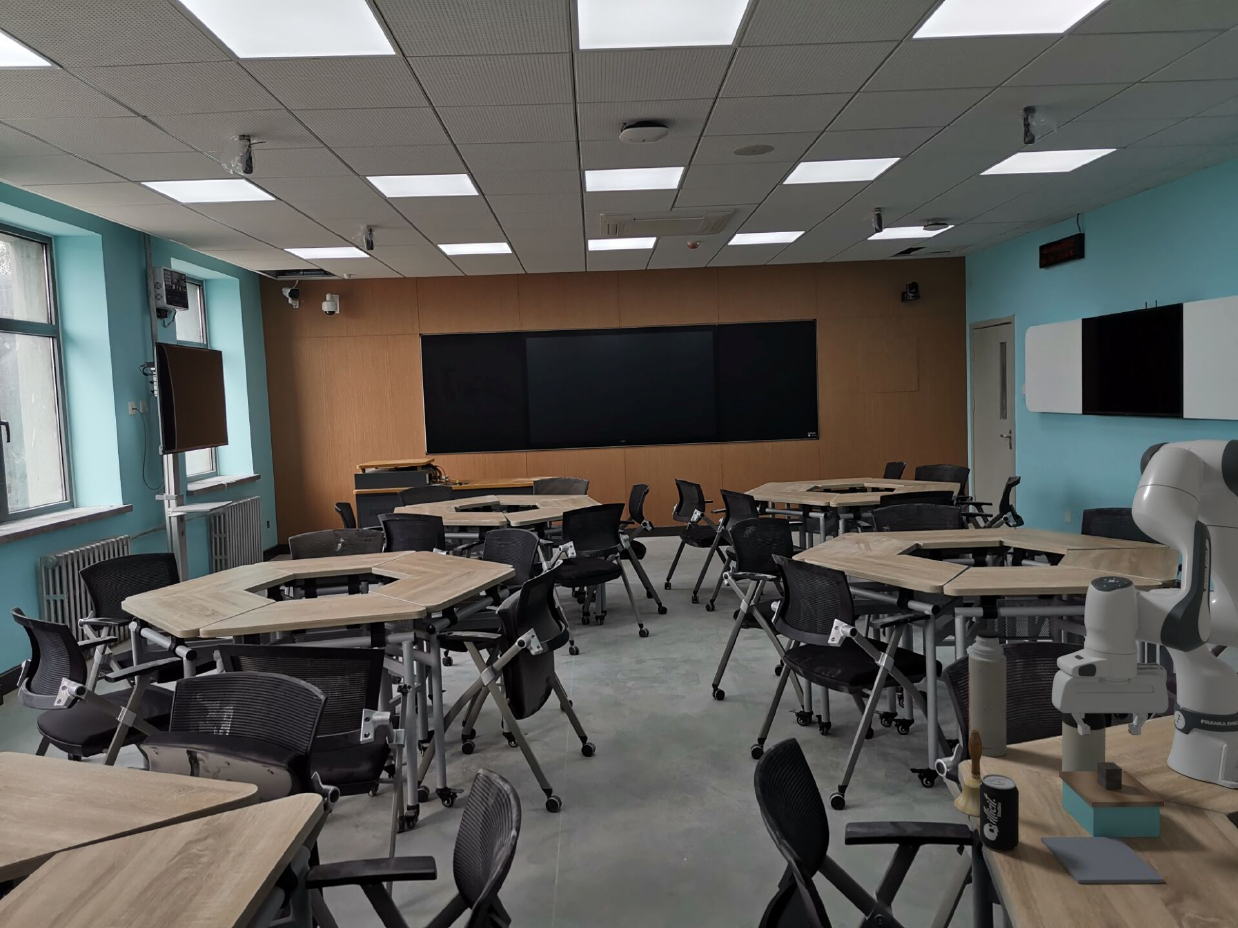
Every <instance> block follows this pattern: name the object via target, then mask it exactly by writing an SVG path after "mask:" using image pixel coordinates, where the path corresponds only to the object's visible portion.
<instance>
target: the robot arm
mask: <svg viewBox="0 0 1238 928" xmlns="http://www.w3.org/2000/svg"><path fill="white" fill-rule="evenodd" d="M1139 466H1140V467H1139V469H1140V475H1141V477H1140V480H1139V482H1138V485H1137V487H1136V490H1135V494H1134V498H1133V502H1132V505H1131V516H1132V520H1133V521H1134V524H1135V525H1136V526H1137V527H1138V529H1139V530H1140V531H1141V532H1143V533H1144V534H1145V535H1146V536H1148V537H1150V538H1151V539H1153V540H1154V541H1156V542H1158V543H1160V544H1163V545H1165V546H1168V547H1170V548H1172V549H1174V550H1176V551H1177V552H1180V554H1181V555H1182V556H1181V558H1182V562H1181V577H1180V578H1181V580H1180V588H1177V587H1174V588H1173V587H1170V588H1156V589H1154V588H1153V589H1150V590H1149V591H1145V590H1139V589H1137V588H1136V585H1135V583H1134V581H1133V580H1131V579H1130V578H1128V577H1123V576H1118V575H1107V576H1100V577H1097V578H1094V579H1092V580H1091V581H1090V582H1089V585H1088V588H1087V592H1086V596H1085V605H1084V621H1083V622H1084V626H1085V629H1086V631H1085V632H1086V634H1085V635H1086V636H1085V640H1084V641H1083V643H1084V645H1083V648H1082V649H1080V650H1078V651H1075V652H1072V653H1069V654H1066V655H1062V656H1059V657H1058V658H1056V659H1057V660H1056V665H1057V667H1058V668H1059V669H1060V670H1058V671H1057V672H1056V673H1055V674H1054V676H1053V677H1054V678H1053V682H1052V690H1051V703H1052V704H1053V706H1054V707H1055V709H1057V710H1058V711H1060V712H1061V713H1072V716H1073V717H1074V719H1075V721H1076V722H1077V724H1078V733H1079V734H1080V735H1090V732H1089V731H1090V726H1088V725H1087V724H1084V722H1083V721H1082V719H1081V718H1084V717H1085V713H1103V714H1134V715H1135V718H1134V719H1133V722H1132V723H1131V722H1130V723H1127V724H1128V725H1127V731H1128V734H1130V735H1131V736H1141V735H1142V727H1143V725H1144V724H1146V721H1147V720H1148V719H1149V718H1148V717H1149V714H1163V713H1165V712H1166V711H1167V710H1168V709H1169V696H1168V689H1167V681H1168V679H1167V678H1168V674H1167V673H1168V672H1167V670H1166V669H1165V667H1164V666H1162V665H1160V664H1159V663H1158V662H1150V663H1145V662H1138V653H1139V650H1138V644H1137V642H1136V641H1138V642H1142V643H1149V644H1154V645H1159V646H1164V647H1165V648H1166V650H1167V652H1168V653H1169V655H1170V657H1171V659H1172V662H1173V665H1174V670H1175V678H1176V699H1175V701H1174V708H1173V723H1174V734H1173V740H1172V744H1171V748H1170V749H1171V750H1170V752H1169V755H1168V758H1167V759H1166V763H1167V766H1168V767H1170V769H1172V770H1174V771H1175V772H1177V773H1179V774H1181V775H1184V776H1186V777H1189V778H1192V779H1196V780H1199V781H1204V782H1208V783H1214V784H1217V785H1220V786H1222V787H1223V786H1224V787H1226V788H1230V789H1234V788H1238V673H1237V671H1236V670H1235V669H1234V668H1233V667H1232V666H1231V665H1230V664H1228V663H1227V662H1225V661H1224V660H1222V659H1220V658H1219V657H1217V656H1216V655H1214V654H1213V653H1212V652H1211V651H1210V650H1209V649H1208V647H1207V644H1210V645H1211V644H1212V645H1218V646H1222V647H1223V646H1224V647H1230V648H1237V649H1238V439H1231V440H1225V439H1224V440H1223V439H1197V440H1184V441H1175V442H1159V443H1155V444H1153V445H1149V447H1148V448H1147V449H1146V450H1145V451H1144V452H1143V453H1142V455H1141V459H1140V464H1139ZM1211 583H1212V584H1213V591H1211Z"/></svg>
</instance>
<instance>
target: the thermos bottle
mask: <svg viewBox="0 0 1238 928" xmlns="http://www.w3.org/2000/svg"><path fill="white" fill-rule="evenodd" d="M975 633H976V637H975V642H974V643H973V644H972V645H971V649H970V650H971V652H969V654H968V739H969V738H970V735H971V732H972V730H977V731H979V735H980V738H981V741H982V754H983V755H982V756H985V757H993V758H994V757H1001V756H1004V755H1006V754H1007V656H1006V655H1004V647H1003V646H1002V645H1001V644H1000V633H999V632H998V631H996V630H992V629H979V630H977V631H976V632H975Z"/></svg>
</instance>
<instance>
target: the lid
mask: <svg viewBox="0 0 1238 928" xmlns="http://www.w3.org/2000/svg"><path fill="white" fill-rule="evenodd" d="M1058 777H1059V778H1060V779H1061V780H1062V782H1063V781H1064V782H1065V783H1066V784H1068V785H1069V786H1070V787H1071V788H1072V789H1073V790H1074V791H1075V792H1076V793H1077V794H1078V795H1079V796H1080V797H1081V798H1083V799H1084V800H1085V801H1086V802H1087V803H1088V804H1089V805H1090V806H1091V807H1160V808H1161V807H1165V801H1164V800H1163V799H1162V798H1161V797H1159V796H1158V795H1157V794H1156V793H1154V792H1153V791H1152V790H1150V789H1149V788H1148V787H1147V786H1145V785H1144V783H1142V782H1140V781H1139V780H1138V779H1137V778H1135V777H1134V776H1133V775H1132V774H1130V773H1129V772H1128V771H1127V770H1123V769H1122V768H1121V767H1120V766H1119V765H1118V764H1116V763H1115V762H1112V761H1111V762H1108V761H1107V762H1106V761H1105V762H1098V769H1097V771H1064V772H1062V771H1058Z"/></svg>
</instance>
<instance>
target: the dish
mask: <svg viewBox="0 0 1238 928" xmlns="http://www.w3.org/2000/svg"><path fill="white" fill-rule="evenodd" d="M1061 787H1062V793H1061V794H1062V796H1061V797H1062V799H1061V800H1062V802H1061V804H1062V808H1063V809H1064V810H1065V811H1066V812H1067V813H1068V814H1069V815H1070V816H1071V817H1072V818H1073V819H1074V820H1075V821H1076V822H1077V823H1078V824H1080V826H1081V827H1082V828H1083V829H1084V830H1085V831H1087V833H1089V834H1090V835H1091V836H1090V837H1119V838H1159V837H1160V835H1161V832H1160V829H1161V828H1160V827H1161V823H1160V822H1161V820H1160V819H1161V815H1160V814H1161V807H1091V806H1090V805H1089V804H1088V803H1087V802H1086V801H1085V800H1084V799H1083V798H1081V797H1080V796H1079V795H1078V794H1077V793H1076V792H1075V791H1074V790H1073V789H1072V788H1071V787H1070V786H1069V785H1068V784H1066V783H1065V782H1064V781H1063V780H1062V786H1061Z"/></svg>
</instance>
